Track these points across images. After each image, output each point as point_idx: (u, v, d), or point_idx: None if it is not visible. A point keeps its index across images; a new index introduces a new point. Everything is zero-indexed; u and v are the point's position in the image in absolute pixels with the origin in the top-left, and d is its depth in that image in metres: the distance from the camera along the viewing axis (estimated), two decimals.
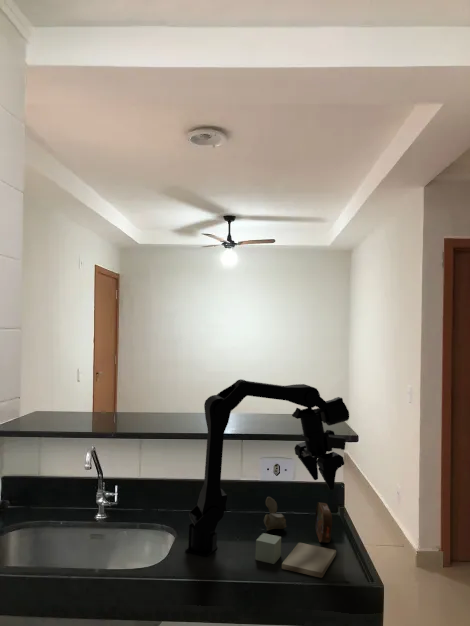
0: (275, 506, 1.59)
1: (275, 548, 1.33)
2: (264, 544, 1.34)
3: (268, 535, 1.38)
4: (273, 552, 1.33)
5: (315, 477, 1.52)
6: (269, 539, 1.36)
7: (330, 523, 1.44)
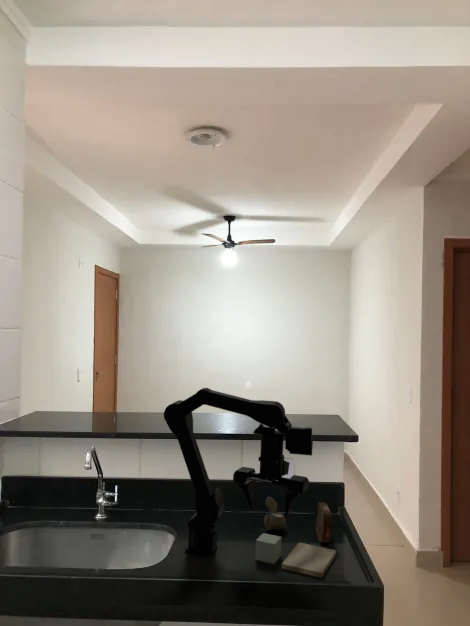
0: (276, 506, 1.59)
1: (275, 548, 1.33)
2: (264, 544, 1.34)
3: (268, 535, 1.38)
4: (273, 552, 1.33)
5: (253, 507, 1.38)
6: (269, 539, 1.36)
7: (330, 523, 1.44)
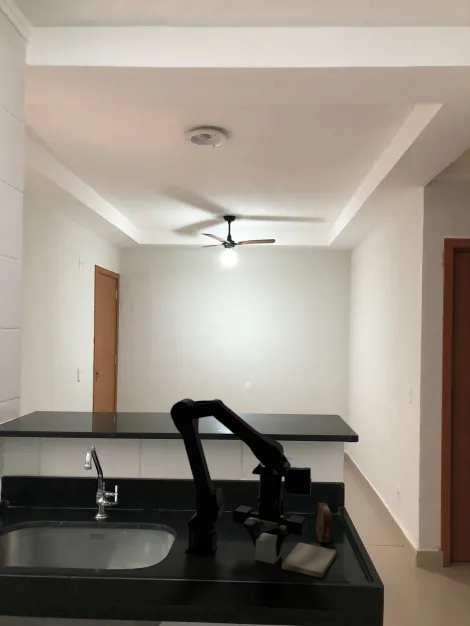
0: None
1: (275, 548, 1.33)
2: (264, 544, 1.34)
3: (268, 535, 1.38)
4: (273, 552, 1.33)
5: None
6: (269, 538, 1.36)
7: (330, 523, 1.44)
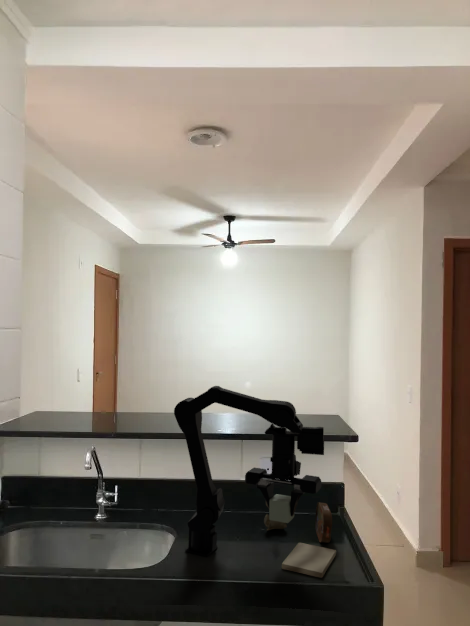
0: None
1: (289, 507, 1.33)
2: (278, 503, 1.33)
3: (281, 495, 1.38)
4: (287, 511, 1.32)
5: None
6: (283, 499, 1.35)
7: (330, 523, 1.44)
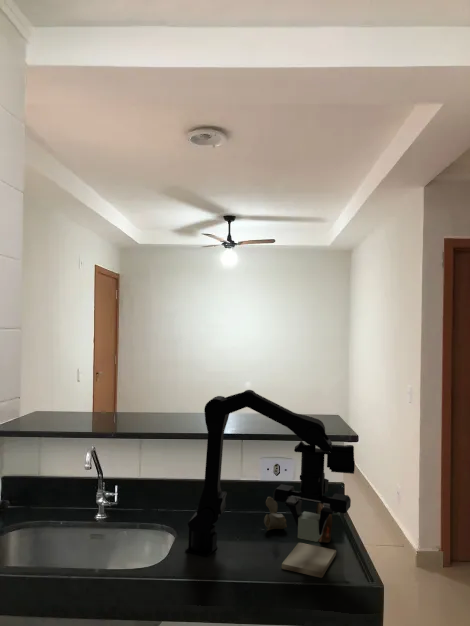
0: (276, 506, 1.59)
1: (318, 526, 1.32)
2: (307, 522, 1.33)
3: (309, 513, 1.37)
4: (316, 529, 1.32)
5: None
6: (312, 517, 1.34)
7: (330, 523, 1.44)
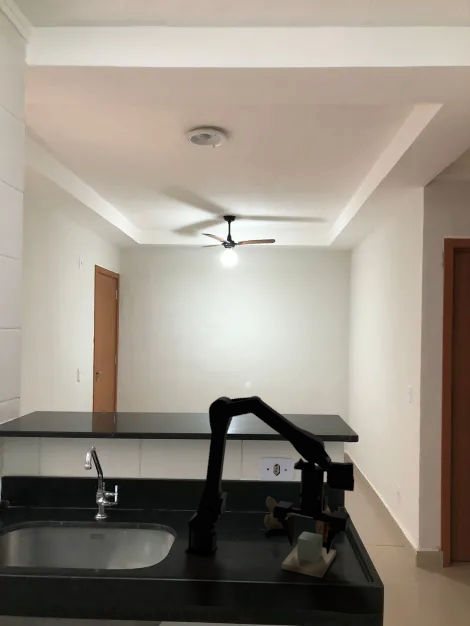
0: None
1: (317, 547, 1.32)
2: (306, 542, 1.32)
3: (309, 533, 1.37)
4: (316, 550, 1.31)
5: (293, 543, 1.36)
6: (311, 537, 1.34)
7: None
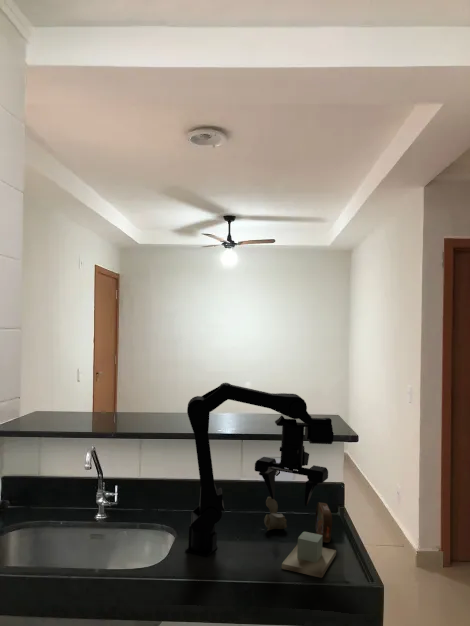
0: (276, 506, 1.59)
1: (317, 547, 1.32)
2: (306, 542, 1.32)
3: (309, 533, 1.37)
4: (316, 550, 1.31)
5: (273, 496, 1.43)
6: (311, 537, 1.34)
7: (330, 523, 1.44)
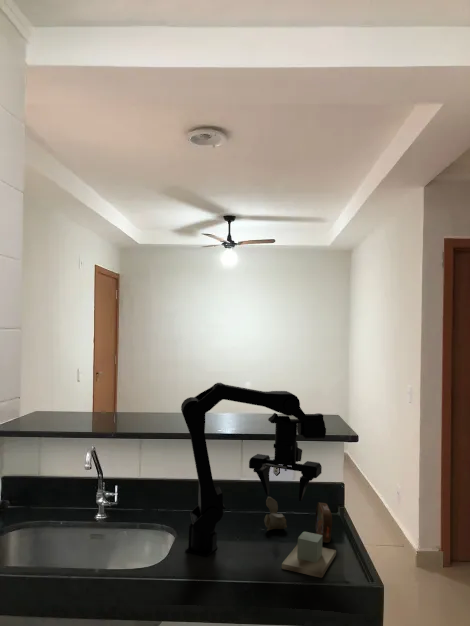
0: (276, 506, 1.59)
1: (317, 547, 1.32)
2: (306, 542, 1.32)
3: (309, 533, 1.37)
4: (316, 550, 1.31)
5: (268, 492, 1.45)
6: (311, 537, 1.34)
7: (330, 523, 1.44)
